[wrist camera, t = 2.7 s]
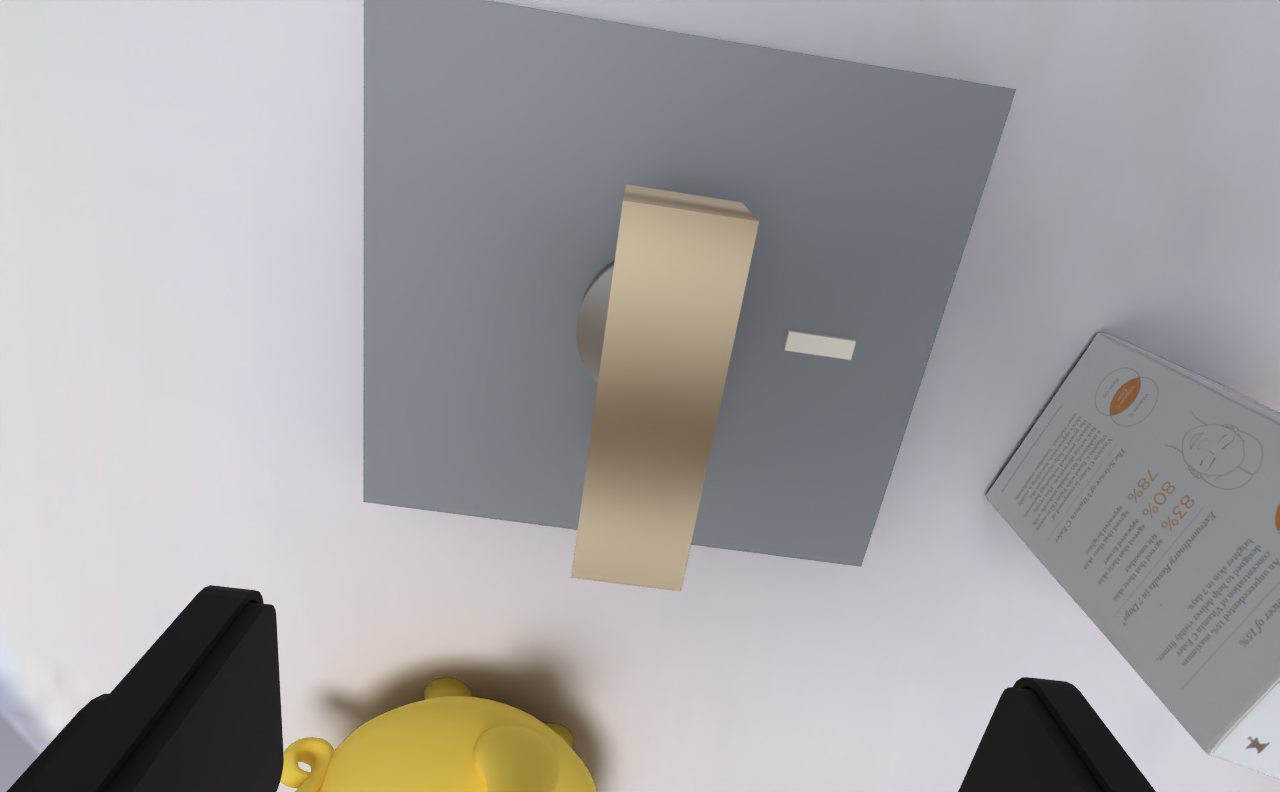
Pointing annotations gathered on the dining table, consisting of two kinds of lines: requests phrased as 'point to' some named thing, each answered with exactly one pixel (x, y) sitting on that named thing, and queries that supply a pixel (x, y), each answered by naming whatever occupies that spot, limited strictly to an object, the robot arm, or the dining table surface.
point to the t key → (657, 379)
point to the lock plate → (586, 243)
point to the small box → (1164, 535)
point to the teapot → (443, 750)
